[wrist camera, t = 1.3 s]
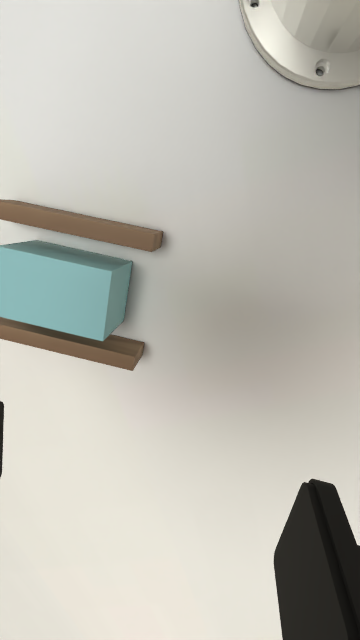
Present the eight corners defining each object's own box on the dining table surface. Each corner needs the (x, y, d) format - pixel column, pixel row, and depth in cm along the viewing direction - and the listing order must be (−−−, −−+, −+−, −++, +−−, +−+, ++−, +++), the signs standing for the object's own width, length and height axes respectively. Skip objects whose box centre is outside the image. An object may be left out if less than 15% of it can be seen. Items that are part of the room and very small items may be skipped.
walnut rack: (14, 200, 26) (-13, 198, 24) (163, 231, 26) (154, 234, 23) (10, 323, 30) (-13, 335, 27) (142, 355, 29) (132, 370, 26)
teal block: (37, 240, 27) (-3, 246, 23) (132, 261, 27) (111, 271, 22) (34, 298, 29) (-5, 315, 24) (124, 320, 28) (102, 341, 24)
